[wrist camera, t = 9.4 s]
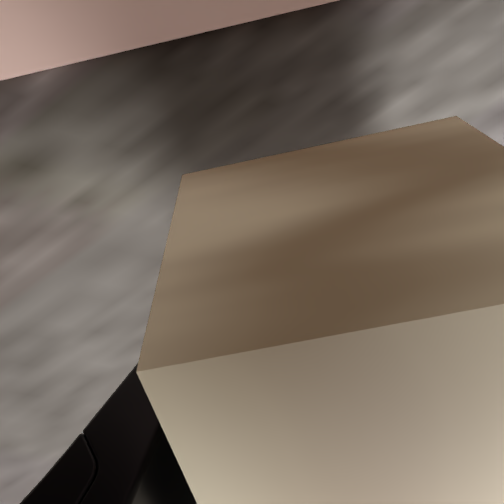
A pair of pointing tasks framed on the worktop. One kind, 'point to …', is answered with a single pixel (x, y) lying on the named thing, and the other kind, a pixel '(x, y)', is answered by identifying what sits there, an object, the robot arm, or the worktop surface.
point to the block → (337, 323)
